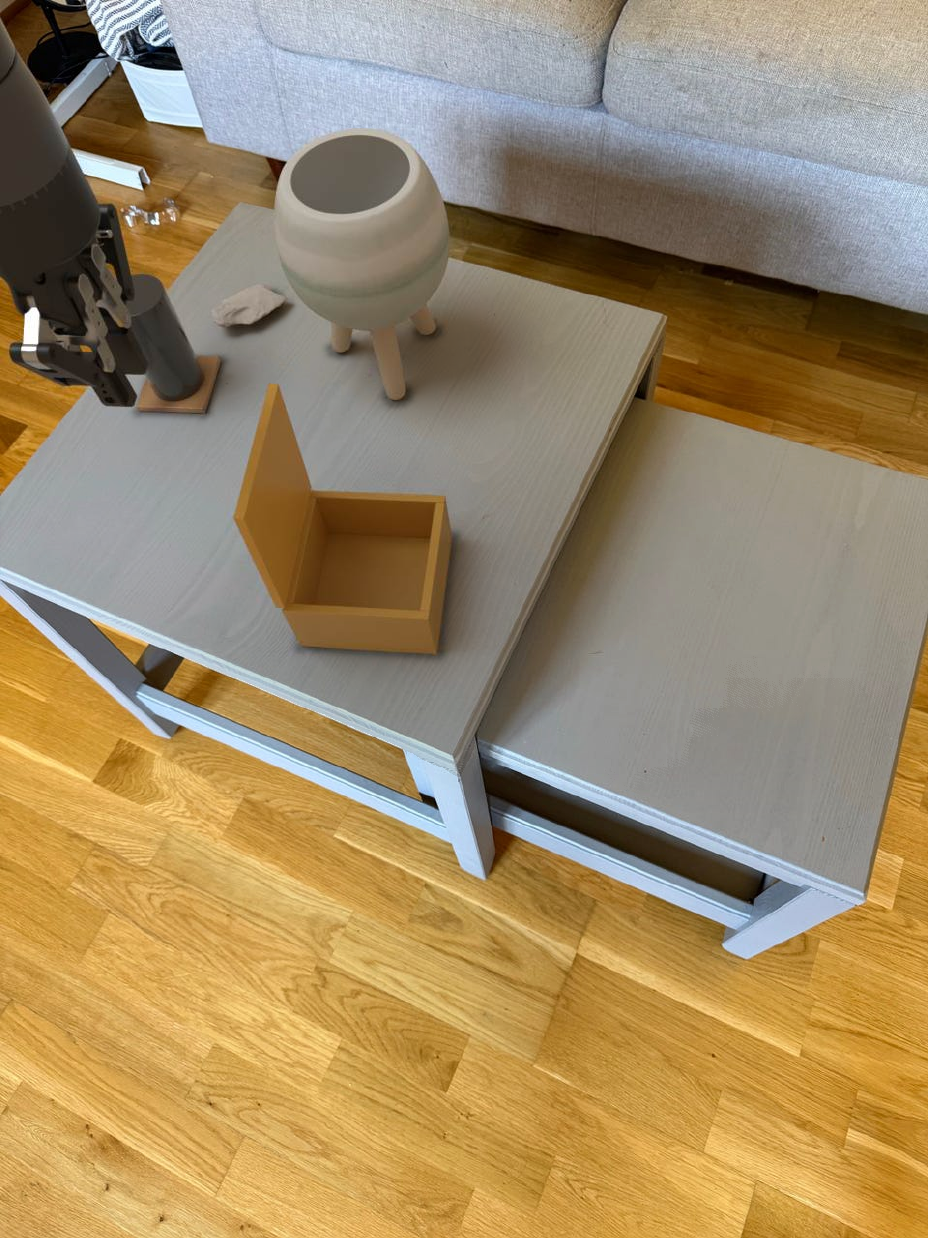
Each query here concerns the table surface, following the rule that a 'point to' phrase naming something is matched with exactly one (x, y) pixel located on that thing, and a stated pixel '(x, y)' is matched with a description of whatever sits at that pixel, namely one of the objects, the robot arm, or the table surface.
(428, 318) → the planter
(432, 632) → the chest
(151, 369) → the dark grey cylinder
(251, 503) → the lid
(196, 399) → the pad
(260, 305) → the decorative stone
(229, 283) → the table surface
